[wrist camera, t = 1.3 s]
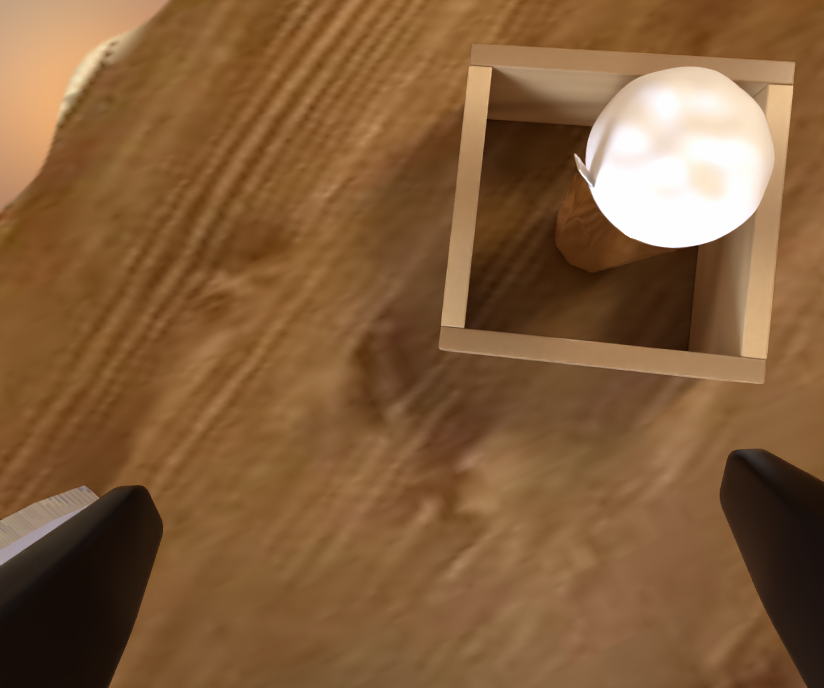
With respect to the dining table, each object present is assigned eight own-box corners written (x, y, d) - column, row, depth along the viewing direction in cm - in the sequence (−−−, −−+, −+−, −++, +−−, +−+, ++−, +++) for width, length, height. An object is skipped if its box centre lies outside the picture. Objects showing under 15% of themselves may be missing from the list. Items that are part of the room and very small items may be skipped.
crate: (705, 379, 21) (765, 384, 17) (441, 350, 22) (438, 348, 18) (731, 117, 21) (796, 60, 17) (468, 99, 22) (471, 41, 18)
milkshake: (506, 199, 22) (550, 64, 12) (635, 165, 21) (795, -6, 11) (533, 305, 21) (601, 260, 11) (664, 272, 21) (853, 195, 11)
